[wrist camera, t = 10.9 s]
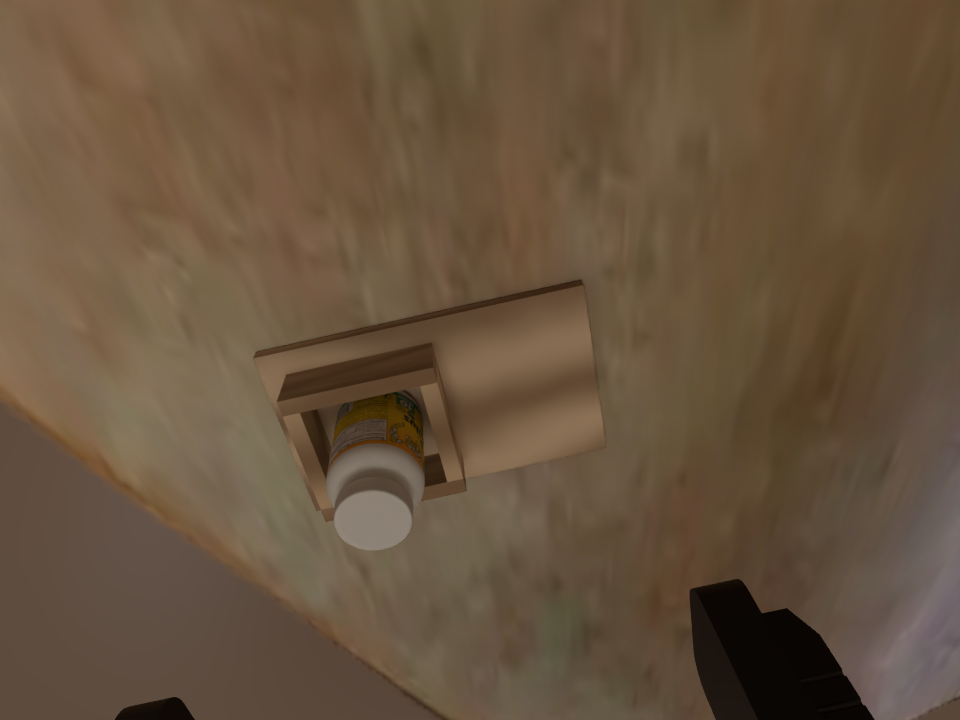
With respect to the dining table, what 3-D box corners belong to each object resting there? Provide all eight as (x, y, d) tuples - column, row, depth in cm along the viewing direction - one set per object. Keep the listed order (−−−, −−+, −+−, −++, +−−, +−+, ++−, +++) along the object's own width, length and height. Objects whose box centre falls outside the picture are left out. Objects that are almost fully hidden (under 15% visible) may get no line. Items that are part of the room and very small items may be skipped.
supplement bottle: (327, 390, 41) (305, 490, 33) (413, 374, 41) (412, 469, 33) (350, 460, 44) (335, 569, 35) (431, 444, 44) (435, 549, 35)
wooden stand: (255, 352, 41) (240, 385, 37) (580, 280, 40) (596, 306, 37) (317, 503, 46) (310, 544, 43) (603, 441, 46) (619, 477, 42)
